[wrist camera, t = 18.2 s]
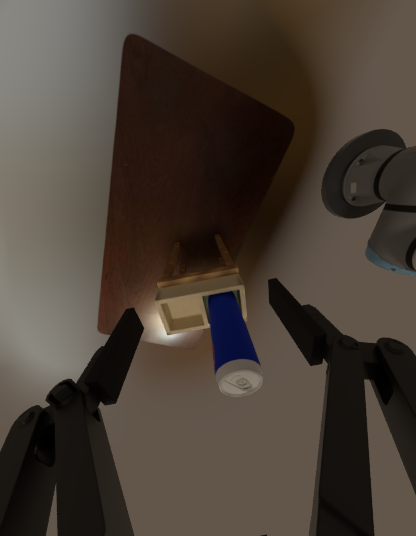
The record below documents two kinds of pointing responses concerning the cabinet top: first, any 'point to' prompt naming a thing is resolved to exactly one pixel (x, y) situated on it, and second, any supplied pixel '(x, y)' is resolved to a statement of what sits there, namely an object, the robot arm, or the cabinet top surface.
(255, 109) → the cabinet top surface
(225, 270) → the shelf
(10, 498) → the robot arm
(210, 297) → the beverage can
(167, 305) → the tray
